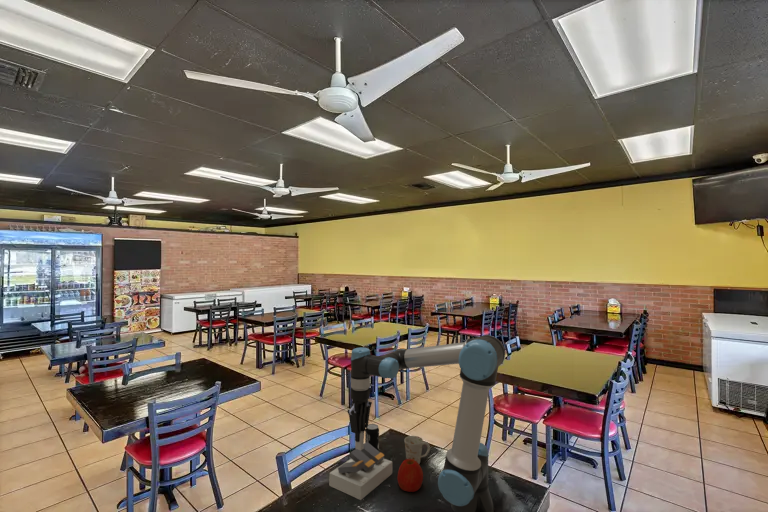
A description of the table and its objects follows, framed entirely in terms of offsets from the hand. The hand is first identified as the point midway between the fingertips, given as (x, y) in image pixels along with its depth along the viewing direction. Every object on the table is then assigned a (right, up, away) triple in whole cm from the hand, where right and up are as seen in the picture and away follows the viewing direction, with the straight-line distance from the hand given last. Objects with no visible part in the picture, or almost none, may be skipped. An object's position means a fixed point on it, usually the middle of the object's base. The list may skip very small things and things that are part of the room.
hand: (359, 448), depth 143 cm
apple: (+20, -17, +2) cm, 26 cm away
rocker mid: (0, -10, +8) cm, 12 cm away
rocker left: (-3, -8, +2) cm, 9 cm away
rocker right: (+4, -9, +13) cm, 17 cm away
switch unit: (0, -17, +7) cm, 18 cm away
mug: (+25, -18, +22) cm, 38 cm away
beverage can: (+4, -18, +30) cm, 35 cm away
